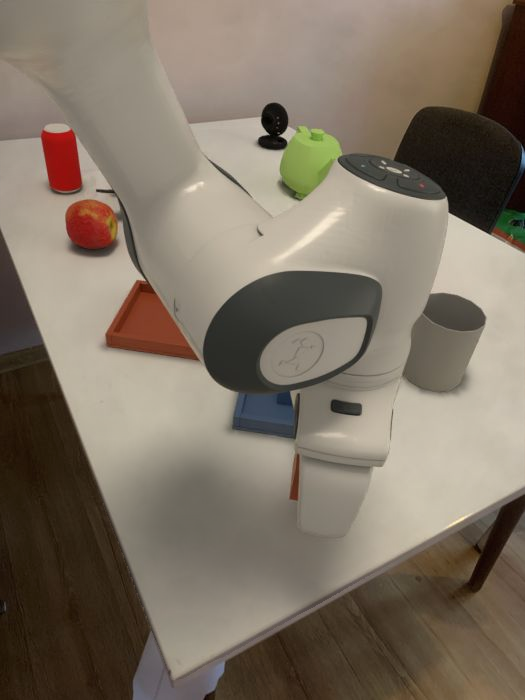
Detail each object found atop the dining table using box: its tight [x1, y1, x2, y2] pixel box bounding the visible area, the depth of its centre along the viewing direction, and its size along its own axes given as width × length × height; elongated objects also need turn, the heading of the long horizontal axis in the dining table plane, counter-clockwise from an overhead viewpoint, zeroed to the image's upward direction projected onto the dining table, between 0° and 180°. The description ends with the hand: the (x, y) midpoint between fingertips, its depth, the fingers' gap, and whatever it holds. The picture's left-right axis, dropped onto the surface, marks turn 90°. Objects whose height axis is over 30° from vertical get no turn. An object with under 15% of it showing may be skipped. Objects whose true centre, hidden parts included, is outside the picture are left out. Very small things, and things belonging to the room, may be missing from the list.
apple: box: [64, 198, 119, 250], centre depth 89 cm, size 8×8×8 cm
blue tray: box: [232, 393, 294, 439], centre depth 67 cm, size 14×14×2 cm
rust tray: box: [104, 279, 200, 361], centre depth 76 cm, size 14×14×2 cm
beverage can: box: [40, 122, 83, 194], centre depth 104 cm, size 6×6×12 cm
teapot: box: [279, 125, 343, 200], centre depth 113 cm, size 20×13×13 cm
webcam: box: [257, 102, 289, 150], centre depth 133 cm, size 8×8×10 cm
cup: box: [402, 292, 488, 393], centre depth 71 cm, size 8×8×10 cm
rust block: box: [289, 451, 300, 502], centre depth 51 cm, size 4×4×4 cm
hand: (316, 474), depth 51 cm, fingers closed on rust block, 4 cm apart
